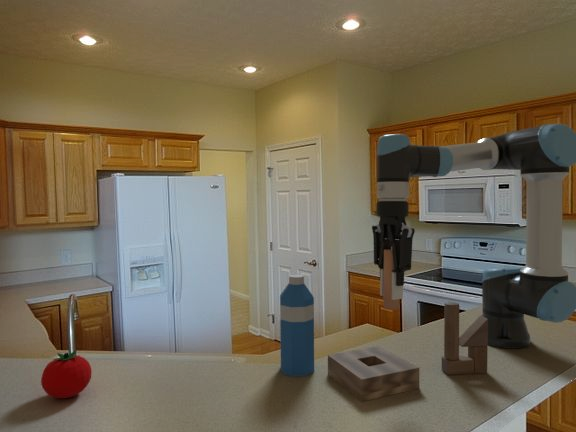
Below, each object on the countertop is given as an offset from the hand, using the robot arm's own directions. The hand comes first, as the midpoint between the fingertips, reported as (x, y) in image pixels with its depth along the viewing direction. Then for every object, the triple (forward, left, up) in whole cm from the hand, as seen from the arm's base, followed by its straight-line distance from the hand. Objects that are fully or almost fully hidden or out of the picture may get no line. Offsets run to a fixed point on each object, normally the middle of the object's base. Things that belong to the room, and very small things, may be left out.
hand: (391, 296), depth 102 cm
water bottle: (+18, -17, -22) cm, 33 cm away
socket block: (+4, -3, -21) cm, 22 cm away
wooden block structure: (-21, +2, -22) cm, 31 cm away
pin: (0, 0, -3) cm, 3 cm away
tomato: (+73, -25, -22) cm, 80 cm away
